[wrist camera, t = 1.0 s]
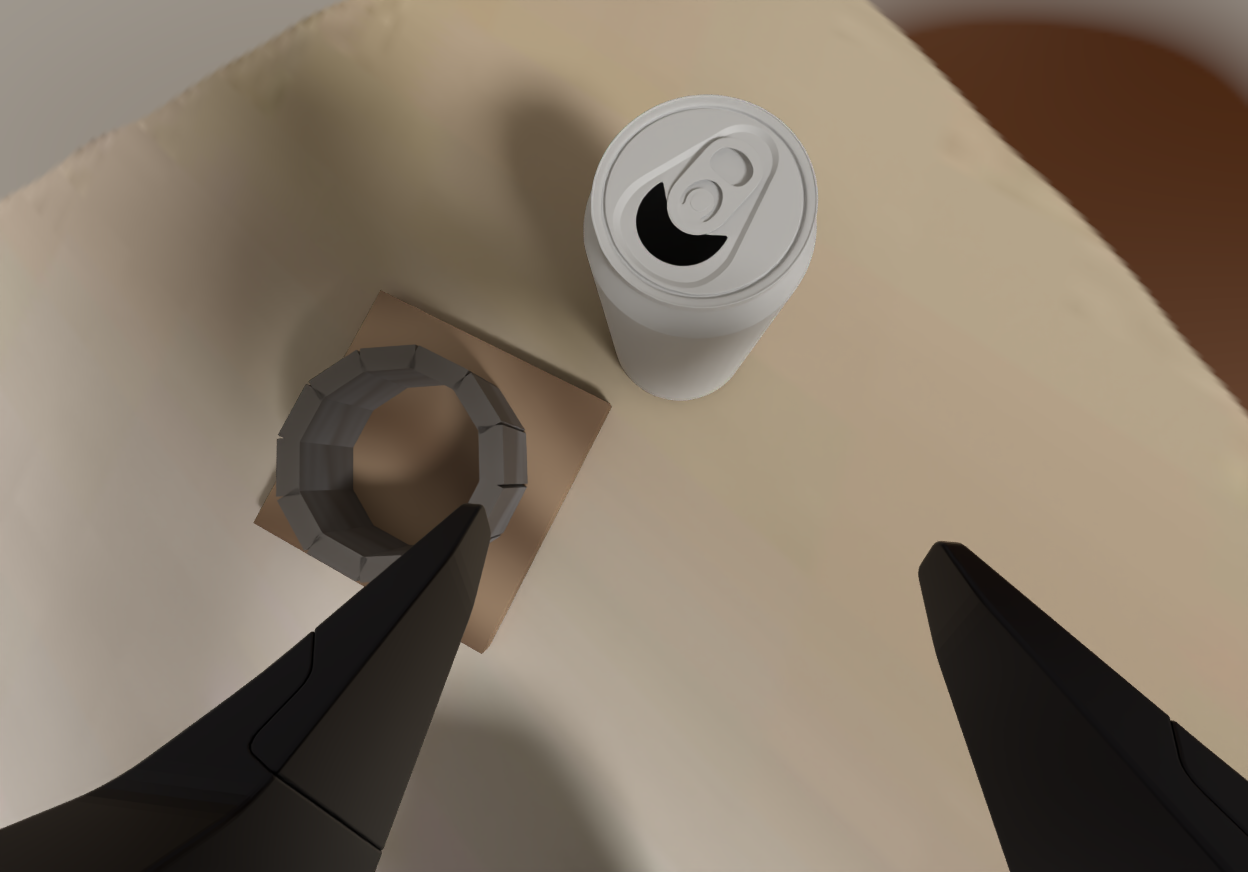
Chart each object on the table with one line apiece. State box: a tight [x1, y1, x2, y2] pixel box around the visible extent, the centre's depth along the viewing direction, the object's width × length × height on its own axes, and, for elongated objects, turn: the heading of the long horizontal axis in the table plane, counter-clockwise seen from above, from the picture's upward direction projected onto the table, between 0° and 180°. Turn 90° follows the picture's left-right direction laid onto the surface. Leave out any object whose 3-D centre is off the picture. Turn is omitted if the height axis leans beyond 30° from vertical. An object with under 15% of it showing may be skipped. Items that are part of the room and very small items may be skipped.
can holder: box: [254, 291, 612, 654], centre depth 22 cm, size 13×13×4 cm
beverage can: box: [583, 95, 818, 401], centre depth 18 cm, size 6×6×12 cm
